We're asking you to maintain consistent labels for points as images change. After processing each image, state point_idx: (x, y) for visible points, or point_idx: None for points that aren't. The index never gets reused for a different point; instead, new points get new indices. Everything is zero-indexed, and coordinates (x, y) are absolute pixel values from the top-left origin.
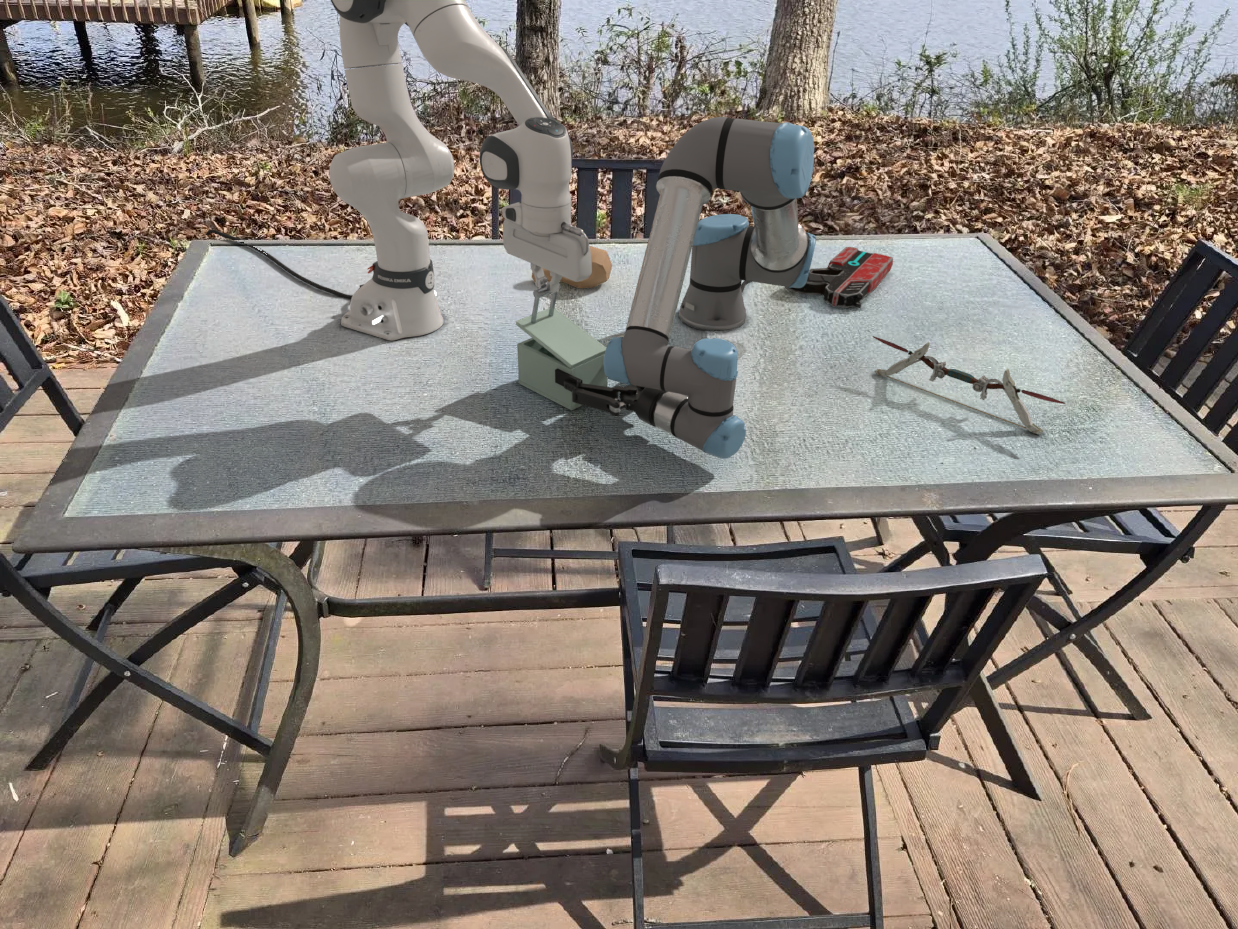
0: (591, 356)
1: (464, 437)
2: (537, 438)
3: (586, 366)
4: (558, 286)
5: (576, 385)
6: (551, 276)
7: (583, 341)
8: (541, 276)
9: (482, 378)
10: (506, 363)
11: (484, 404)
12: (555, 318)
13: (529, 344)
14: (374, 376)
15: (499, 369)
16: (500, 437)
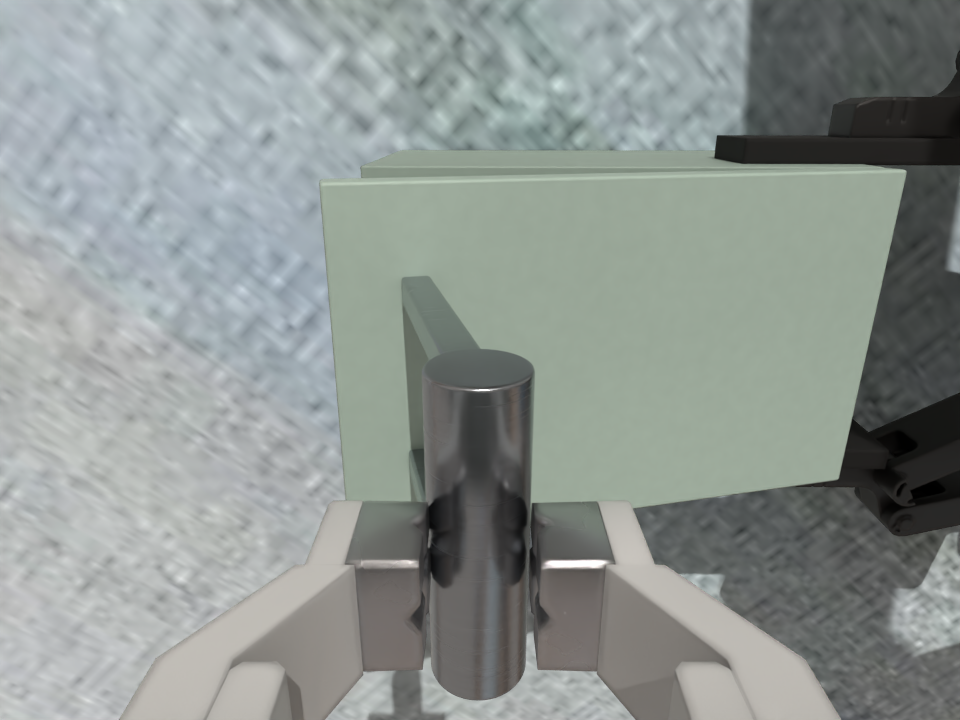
0: (871, 328)
1: (565, 697)
2: (754, 569)
3: None
4: (642, 534)
5: (864, 473)
6: None
7: (759, 273)
8: (352, 621)
9: (273, 437)
10: (219, 282)
11: None
12: (463, 278)
13: None
14: (30, 666)
15: (249, 341)
16: None
